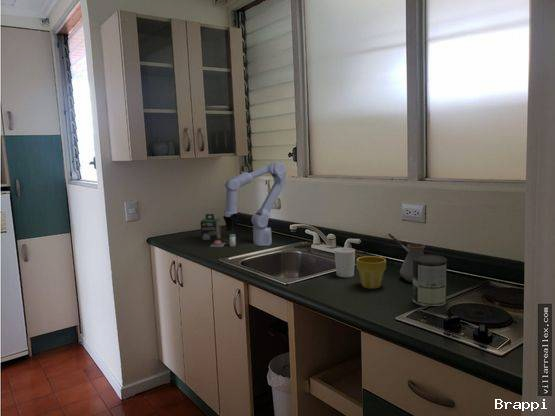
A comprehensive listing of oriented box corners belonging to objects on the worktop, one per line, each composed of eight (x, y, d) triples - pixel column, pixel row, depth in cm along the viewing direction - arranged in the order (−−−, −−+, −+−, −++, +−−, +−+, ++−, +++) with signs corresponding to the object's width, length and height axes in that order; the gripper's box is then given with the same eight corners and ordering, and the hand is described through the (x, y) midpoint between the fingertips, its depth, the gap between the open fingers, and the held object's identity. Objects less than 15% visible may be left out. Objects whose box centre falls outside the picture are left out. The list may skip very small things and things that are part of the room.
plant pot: (368, 279, 165) (368, 254, 163) (391, 285, 157) (392, 259, 155) (350, 285, 158) (350, 259, 157) (374, 292, 150) (373, 264, 149)
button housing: (225, 246, 229) (224, 243, 229) (222, 248, 223) (222, 245, 223) (213, 246, 230) (213, 243, 229) (210, 248, 224) (210, 245, 224)
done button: (221, 244, 227) (221, 240, 227) (220, 246, 224) (219, 241, 224) (215, 244, 228) (215, 240, 228) (214, 246, 225) (213, 241, 224)
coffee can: (405, 299, 142) (405, 257, 140) (428, 293, 147) (428, 252, 145) (429, 309, 133) (430, 264, 131) (453, 302, 138) (454, 259, 136)
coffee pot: (439, 281, 160) (439, 240, 158) (415, 286, 155) (415, 244, 153) (398, 267, 179) (398, 231, 177) (376, 271, 174) (376, 234, 172)
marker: (236, 246, 226) (235, 233, 225) (235, 248, 223) (234, 235, 222) (230, 246, 226) (230, 233, 225) (229, 248, 223) (228, 235, 222)
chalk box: (221, 237, 250) (220, 212, 248) (217, 241, 241) (216, 214, 239) (205, 238, 251) (204, 212, 249) (201, 241, 242) (199, 215, 240)
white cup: (331, 273, 174) (331, 249, 172) (348, 271, 176) (348, 246, 175) (341, 279, 166) (340, 253, 165) (359, 276, 169) (359, 250, 168)
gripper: (227, 200, 230) (227, 226, 231) (220, 203, 215) (219, 231, 217) (240, 201, 229) (240, 227, 230) (234, 204, 214) (233, 231, 216)
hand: (231, 229), depth 224 cm, fingers open, 7 cm apart
